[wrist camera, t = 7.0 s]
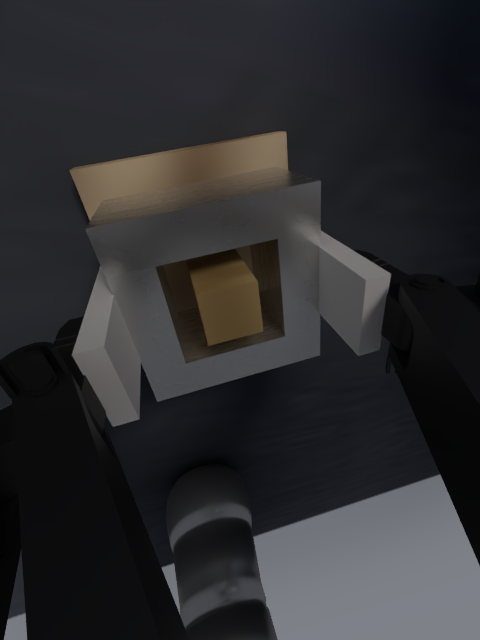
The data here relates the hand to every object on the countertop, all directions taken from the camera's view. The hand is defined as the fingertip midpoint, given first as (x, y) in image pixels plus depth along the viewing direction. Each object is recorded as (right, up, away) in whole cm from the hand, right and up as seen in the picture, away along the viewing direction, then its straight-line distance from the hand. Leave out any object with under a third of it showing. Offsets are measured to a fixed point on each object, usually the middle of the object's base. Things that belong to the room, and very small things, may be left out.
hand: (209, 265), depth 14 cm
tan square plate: (-1, +1, +2) cm, 3 cm away
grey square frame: (0, 0, 0) cm, 0 cm away
